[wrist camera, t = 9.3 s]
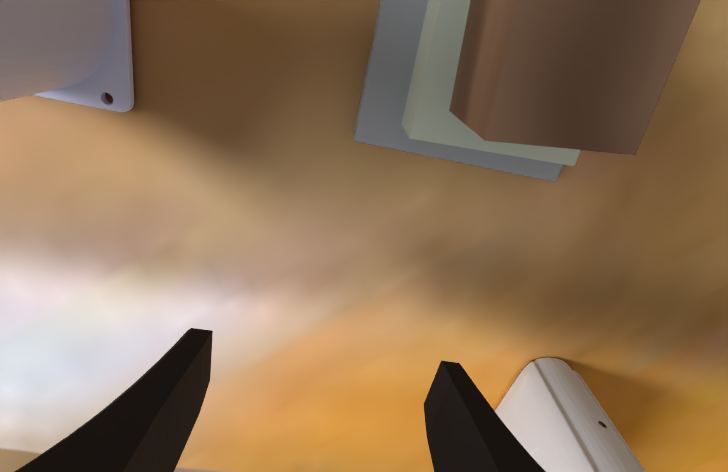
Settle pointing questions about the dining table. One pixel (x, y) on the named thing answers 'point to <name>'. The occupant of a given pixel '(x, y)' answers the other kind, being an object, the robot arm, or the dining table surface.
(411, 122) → the tower top slab
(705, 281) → the dining table surface
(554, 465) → the photo printer
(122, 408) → the robot arm
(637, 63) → the walnut cube
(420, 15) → the tower base slab
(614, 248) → the dining table surface
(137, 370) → the dining table surface
